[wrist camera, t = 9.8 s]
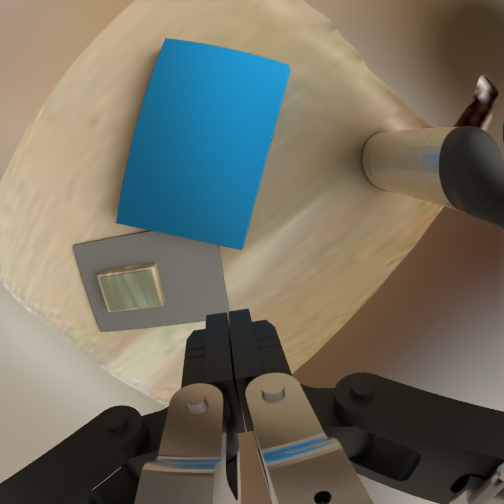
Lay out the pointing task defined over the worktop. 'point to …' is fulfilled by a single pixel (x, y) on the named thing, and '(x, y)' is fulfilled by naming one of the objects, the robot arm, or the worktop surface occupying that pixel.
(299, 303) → the worktop surface
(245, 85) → the book
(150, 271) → the tile
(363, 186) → the worktop surface
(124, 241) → the mat
